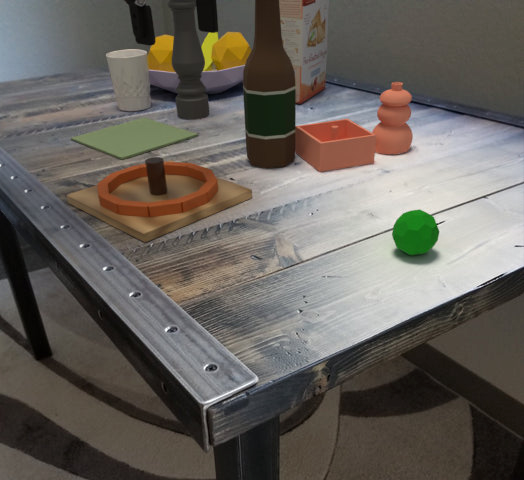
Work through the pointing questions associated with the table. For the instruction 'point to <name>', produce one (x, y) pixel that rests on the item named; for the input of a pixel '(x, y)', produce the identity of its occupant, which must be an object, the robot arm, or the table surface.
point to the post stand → (154, 190)
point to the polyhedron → (415, 232)
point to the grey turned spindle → (188, 62)
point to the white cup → (130, 79)
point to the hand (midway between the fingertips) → (178, 37)
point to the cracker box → (306, 43)
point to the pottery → (357, 135)
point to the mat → (133, 138)
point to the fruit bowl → (216, 62)
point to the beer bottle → (269, 93)
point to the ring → (160, 206)
